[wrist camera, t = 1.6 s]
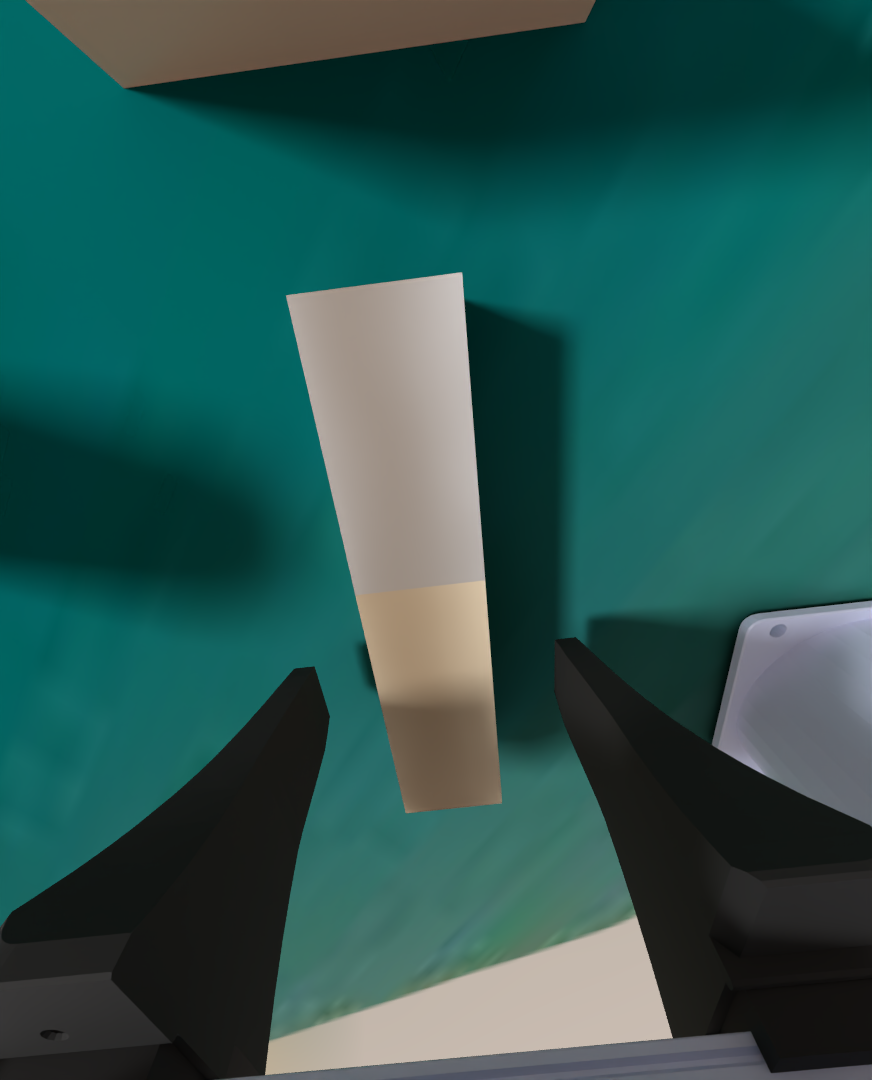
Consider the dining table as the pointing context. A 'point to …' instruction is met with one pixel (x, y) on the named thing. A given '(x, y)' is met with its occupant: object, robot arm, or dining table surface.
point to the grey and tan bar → (410, 520)
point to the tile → (278, 30)
